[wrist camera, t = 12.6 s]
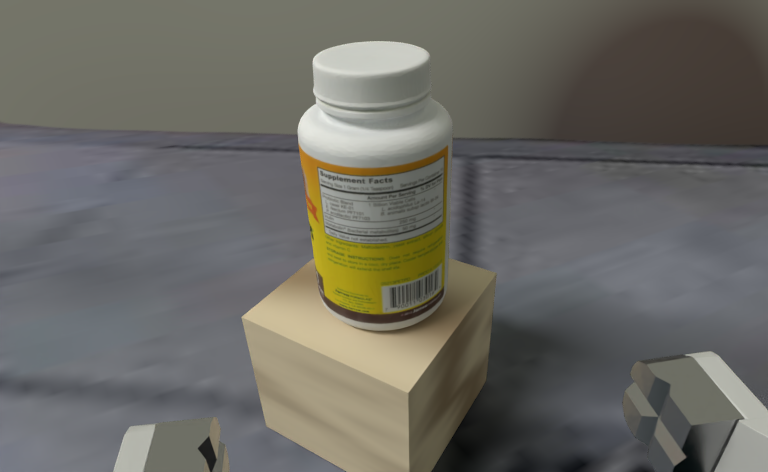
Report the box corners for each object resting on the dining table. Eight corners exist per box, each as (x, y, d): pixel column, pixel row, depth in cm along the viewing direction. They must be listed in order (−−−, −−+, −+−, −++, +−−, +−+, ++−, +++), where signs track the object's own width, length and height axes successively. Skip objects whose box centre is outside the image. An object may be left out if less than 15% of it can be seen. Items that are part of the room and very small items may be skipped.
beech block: (358, 328, 33) (351, 227, 29) (486, 380, 29) (496, 273, 25) (266, 426, 27) (241, 317, 23) (409, 507, 23) (408, 393, 20)
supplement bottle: (351, 247, 27) (334, 30, 22) (462, 270, 25) (474, 39, 20) (294, 319, 23) (254, 72, 17) (422, 353, 21) (423, 88, 15)
